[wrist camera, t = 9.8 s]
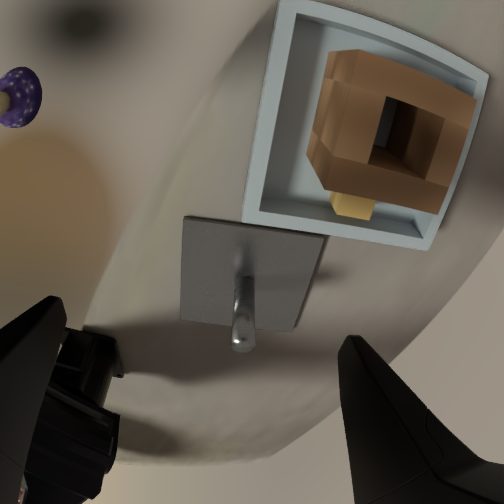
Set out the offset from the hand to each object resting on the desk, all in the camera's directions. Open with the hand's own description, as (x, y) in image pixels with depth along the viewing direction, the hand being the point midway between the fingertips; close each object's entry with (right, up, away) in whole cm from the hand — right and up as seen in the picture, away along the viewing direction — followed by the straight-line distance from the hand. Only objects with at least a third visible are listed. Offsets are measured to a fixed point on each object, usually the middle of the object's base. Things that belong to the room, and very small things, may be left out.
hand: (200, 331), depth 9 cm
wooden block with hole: (+8, +9, +7) cm, 14 cm away
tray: (+8, +9, +7) cm, 14 cm away
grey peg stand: (+1, 0, +14) cm, 14 cm away
